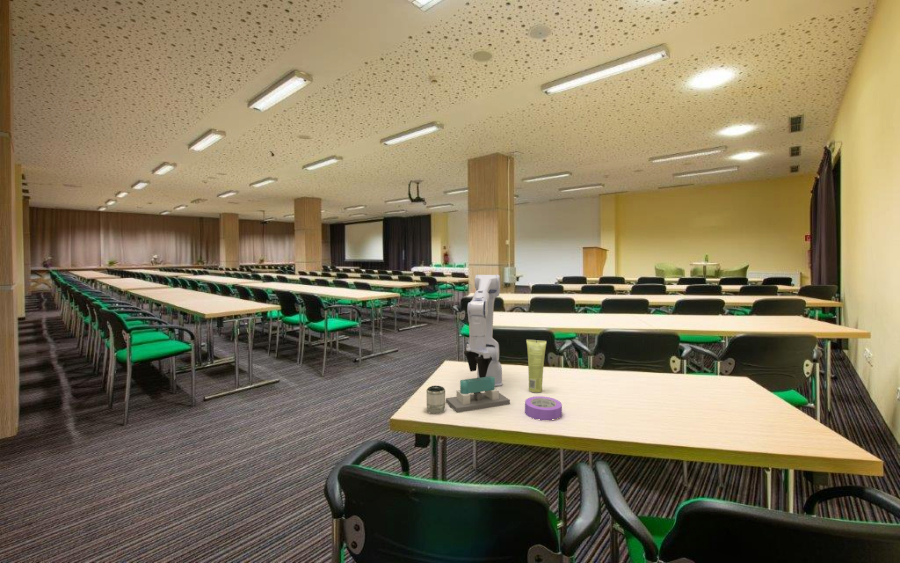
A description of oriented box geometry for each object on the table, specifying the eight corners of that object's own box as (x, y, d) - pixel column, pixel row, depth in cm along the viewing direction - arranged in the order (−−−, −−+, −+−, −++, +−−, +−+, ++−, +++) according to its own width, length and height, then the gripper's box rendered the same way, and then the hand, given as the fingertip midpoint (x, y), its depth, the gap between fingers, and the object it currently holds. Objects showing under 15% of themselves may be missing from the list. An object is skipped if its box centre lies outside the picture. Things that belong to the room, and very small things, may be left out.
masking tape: (568, 413, 128) (568, 402, 127) (549, 424, 119) (549, 412, 119) (537, 404, 136) (537, 393, 136) (517, 414, 128) (517, 402, 127)
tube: (537, 387, 153) (538, 338, 151) (546, 391, 148) (546, 340, 147) (525, 389, 150) (526, 339, 149) (534, 393, 146) (534, 342, 144)
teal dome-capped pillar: (492, 386, 140) (492, 375, 140) (496, 389, 137) (496, 378, 137) (458, 391, 135) (458, 380, 135) (462, 394, 132) (462, 382, 132)
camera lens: (443, 414, 127) (443, 391, 126) (424, 413, 128) (424, 389, 127) (447, 407, 133) (446, 384, 132) (429, 406, 134) (428, 383, 134)
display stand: (496, 394, 145) (496, 382, 145) (509, 404, 136) (510, 391, 135) (445, 402, 138) (445, 389, 137) (456, 412, 128) (456, 399, 128)
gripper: (458, 332, 140) (458, 369, 141) (476, 340, 127) (476, 381, 128) (476, 330, 143) (476, 367, 144) (495, 338, 129) (495, 378, 130)
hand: (477, 373), depth 136 cm, fingers open, 7 cm apart
